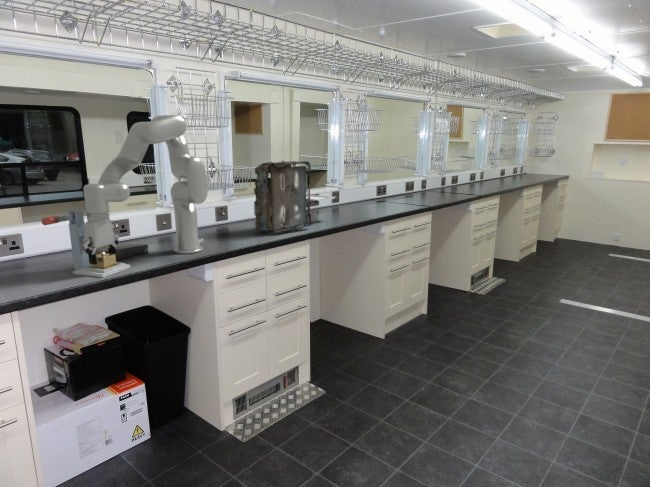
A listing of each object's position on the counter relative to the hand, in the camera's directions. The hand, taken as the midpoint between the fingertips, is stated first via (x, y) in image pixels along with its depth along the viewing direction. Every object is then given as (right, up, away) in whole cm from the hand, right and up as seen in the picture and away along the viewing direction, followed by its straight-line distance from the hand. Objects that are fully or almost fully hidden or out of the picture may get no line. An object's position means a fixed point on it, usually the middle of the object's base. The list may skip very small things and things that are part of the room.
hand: (103, 260), depth 174 cm
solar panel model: (+75, +21, +107) cm, 133 cm away
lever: (-12, +15, -6) cm, 20 cm away
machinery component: (+60, +13, +75) cm, 97 cm away
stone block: (-5, +1, +24) cm, 24 cm away
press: (-4, -4, +2) cm, 6 cm away
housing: (0, -3, +1) cm, 3 cm away
